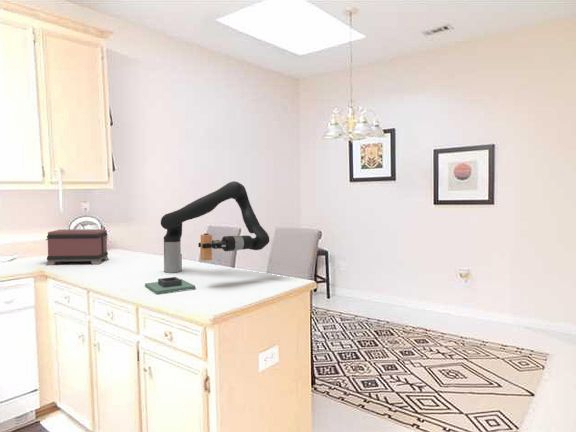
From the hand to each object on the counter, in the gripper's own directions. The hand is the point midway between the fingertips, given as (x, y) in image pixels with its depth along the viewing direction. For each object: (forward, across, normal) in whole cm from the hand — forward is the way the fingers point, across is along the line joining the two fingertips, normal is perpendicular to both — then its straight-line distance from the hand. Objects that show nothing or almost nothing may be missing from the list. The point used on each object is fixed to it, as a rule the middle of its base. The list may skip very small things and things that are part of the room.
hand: (200, 245), depth 191 cm
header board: (+13, -6, +20) cm, 24 cm away
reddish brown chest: (+39, -106, +21) cm, 115 cm away
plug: (-3, 0, +7) cm, 8 cm away
